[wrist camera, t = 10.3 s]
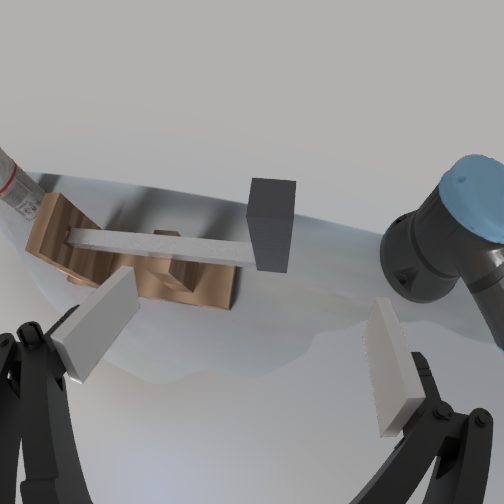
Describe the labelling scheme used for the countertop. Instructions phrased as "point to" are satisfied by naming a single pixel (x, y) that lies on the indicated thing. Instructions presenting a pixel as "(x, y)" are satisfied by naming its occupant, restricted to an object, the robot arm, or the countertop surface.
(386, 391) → the robot arm
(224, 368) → the countertop surface
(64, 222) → the rail base
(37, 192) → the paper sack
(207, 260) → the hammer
